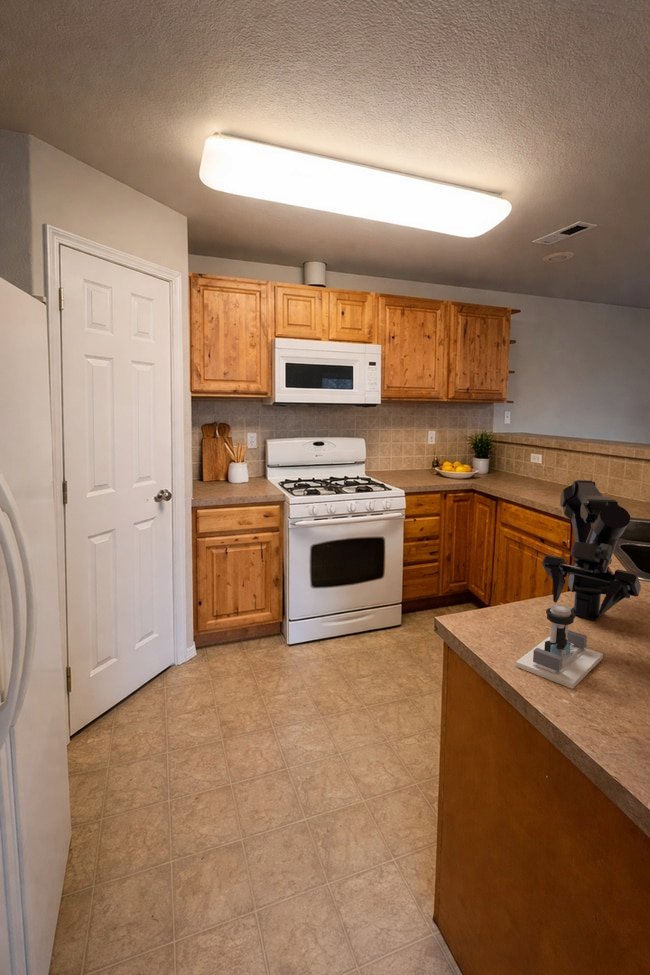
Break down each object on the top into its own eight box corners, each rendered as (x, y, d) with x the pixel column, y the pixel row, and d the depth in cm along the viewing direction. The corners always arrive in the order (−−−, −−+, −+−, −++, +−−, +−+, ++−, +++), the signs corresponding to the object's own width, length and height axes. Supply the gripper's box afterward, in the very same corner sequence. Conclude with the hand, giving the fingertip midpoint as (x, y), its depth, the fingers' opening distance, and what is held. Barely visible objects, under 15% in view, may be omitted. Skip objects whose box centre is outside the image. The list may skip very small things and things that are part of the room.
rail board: (549, 640, 108) (550, 622, 107) (602, 658, 100) (604, 639, 99) (515, 666, 97) (516, 646, 97) (572, 688, 89) (574, 667, 89)
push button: (562, 645, 102) (566, 600, 100) (583, 657, 97) (587, 610, 95) (537, 650, 100) (540, 605, 98) (557, 662, 95) (560, 615, 93)
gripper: (547, 520, 110) (523, 578, 104) (641, 535, 96) (619, 602, 91) (559, 546, 116) (537, 602, 111) (649, 564, 103) (628, 628, 97)
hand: (576, 608), depth 102 cm, fingers open, 9 cm apart
